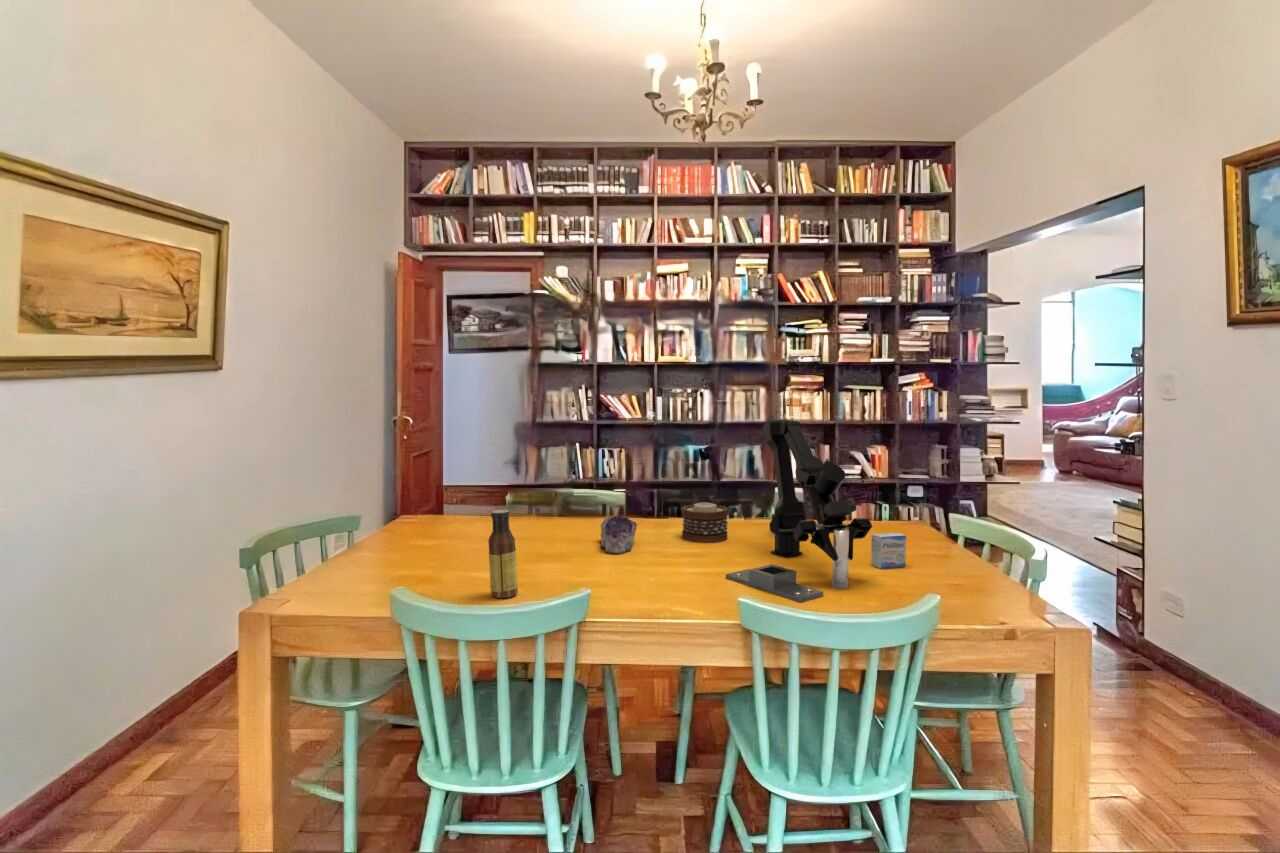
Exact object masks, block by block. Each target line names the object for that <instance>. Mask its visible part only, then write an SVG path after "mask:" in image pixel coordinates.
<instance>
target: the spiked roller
mask: <svg viewBox="0 0 1280 853" xmlns="http://www.w3.org/2000/svg"><path fill="white" fill-rule="evenodd" d="M681 512H682V513H681V518H682V519H683V520H682V524H681V525H682V531H681V538H682V539H683V540H684V541H687V542H690V543H696V544H717V543H722V542H726V541H727V540H728V530H729V528H728V527H729V526H728V525H729V524H728V523H730V522H728V521H727V520H728V519H729V517H728V513H729V512H728V507H726V506H723V505H718V504H715V503H712V502H707V501H706V502H703V501H702V502H698V503H694V504H689V505H685V506H683V507H682V511H681Z"/></svg>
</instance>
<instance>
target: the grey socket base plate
mask: <svg viewBox="0 0 1280 853" xmlns="http://www.w3.org/2000/svg"><path fill="white" fill-rule="evenodd" d="M725 579H726V580H730V581H733V582H737V583H739V584H742V585H744V586H749V587H751V588H755V589H758V590H759V591H760V590H761V591H764V592H766V591H767V592H766V593H769V594H773V595H776V596H779V597H783V598H785V599H788V600H791V601H794V602H798V603H804V602H808V601H810V600H814V599H818V598H821V597H824V591H821V590H819V589H815V588H812V587H808V586H806V585H802V584H800V583H797V570H794V569H793V570H792V569H789V568H786V567H783V566H778V565H775V564H766V565H762V566H759V567H754V568H750V569H749V568H746V569H743V570H738V571H734V572H730V573H729V572H728V573H725Z"/></svg>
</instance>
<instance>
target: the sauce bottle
mask: <svg viewBox="0 0 1280 853" xmlns="http://www.w3.org/2000/svg"><path fill="white" fill-rule="evenodd" d="M491 519H492V532H491V533H490V535H489V538H488V541H487V542H488V563H489V584H490V585H489V586H490V593H491V596H492V597H494V598H496V599H508V598H513V597H516V596H517V595H518V592H519V591H518V590H519V588H518V586H519V583H518V580H519V579H518V569H517V568H518V566H517V565H518V564H517V548H516V540H515V536H514V535H513V533H512V531H511V529H510V521H509V520H510V510H509V509H494V510H492V511H491Z"/></svg>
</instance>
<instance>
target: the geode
mask: <svg viewBox="0 0 1280 853" xmlns="http://www.w3.org/2000/svg"><path fill="white" fill-rule="evenodd" d="M637 526H638V523H637V522H636V521H633V520H632V519H630V518H629V517H628V516H625V515H622V514H616V515H614V516H612V517H611V516H610V517H609V516H607V517H605V518H604V519H603V521H602V522H601V524H600V529H601V530H600V531H601V532H600V538H601V542H600V548H601V549H602V548H603V549H605V554H608V555H612V556H620V555H624V554H627V553H629V552H631V551H632V548H633V544H634V539H635V536H636V530H637Z"/></svg>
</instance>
